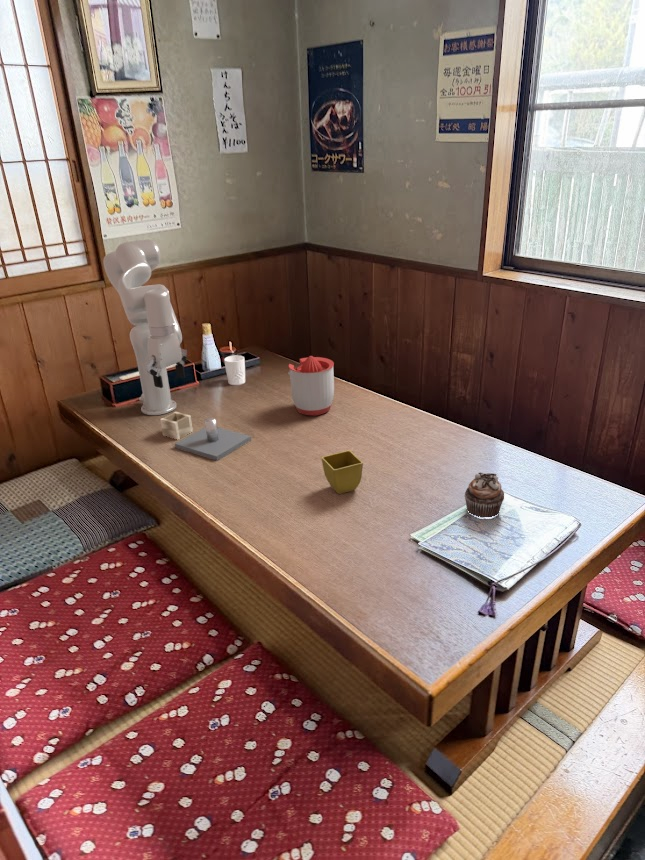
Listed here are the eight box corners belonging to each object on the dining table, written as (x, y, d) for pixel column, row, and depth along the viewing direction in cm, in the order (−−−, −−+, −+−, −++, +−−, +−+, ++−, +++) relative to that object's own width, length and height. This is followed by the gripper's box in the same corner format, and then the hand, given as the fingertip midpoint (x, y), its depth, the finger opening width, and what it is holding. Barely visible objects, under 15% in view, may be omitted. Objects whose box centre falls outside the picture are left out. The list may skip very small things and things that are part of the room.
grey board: (175, 447, 202) (174, 443, 201) (210, 428, 214) (209, 424, 213) (217, 460, 192) (216, 456, 192) (251, 440, 204) (250, 436, 204)
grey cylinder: (204, 440, 202) (202, 420, 199) (212, 436, 205) (209, 416, 202) (213, 443, 200) (210, 423, 197) (220, 438, 203) (218, 418, 200)
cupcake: (460, 501, 165) (462, 467, 161) (498, 500, 165) (501, 467, 161) (467, 522, 157) (469, 487, 152) (506, 521, 156) (510, 486, 152)
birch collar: (162, 435, 211) (160, 419, 208) (178, 427, 216) (175, 411, 213) (177, 440, 207) (175, 423, 204) (193, 431, 212) (190, 415, 210)
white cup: (245, 385, 249) (242, 361, 245) (225, 386, 249) (222, 362, 245) (248, 378, 256) (245, 354, 252) (228, 379, 256) (225, 355, 252)
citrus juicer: (305, 397, 235) (302, 345, 227) (344, 406, 226) (342, 352, 217) (278, 411, 224) (274, 358, 215) (318, 422, 214) (315, 366, 206)
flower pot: (322, 485, 176) (320, 456, 173) (350, 477, 179) (349, 449, 176) (335, 499, 169) (333, 470, 165) (364, 491, 172) (363, 462, 168)
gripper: (173, 322, 205) (181, 372, 212) (132, 336, 192) (141, 389, 199) (190, 324, 201) (197, 375, 208) (149, 339, 188) (158, 393, 195)
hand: (170, 382), depth 203 cm, fingers open, 9 cm apart
